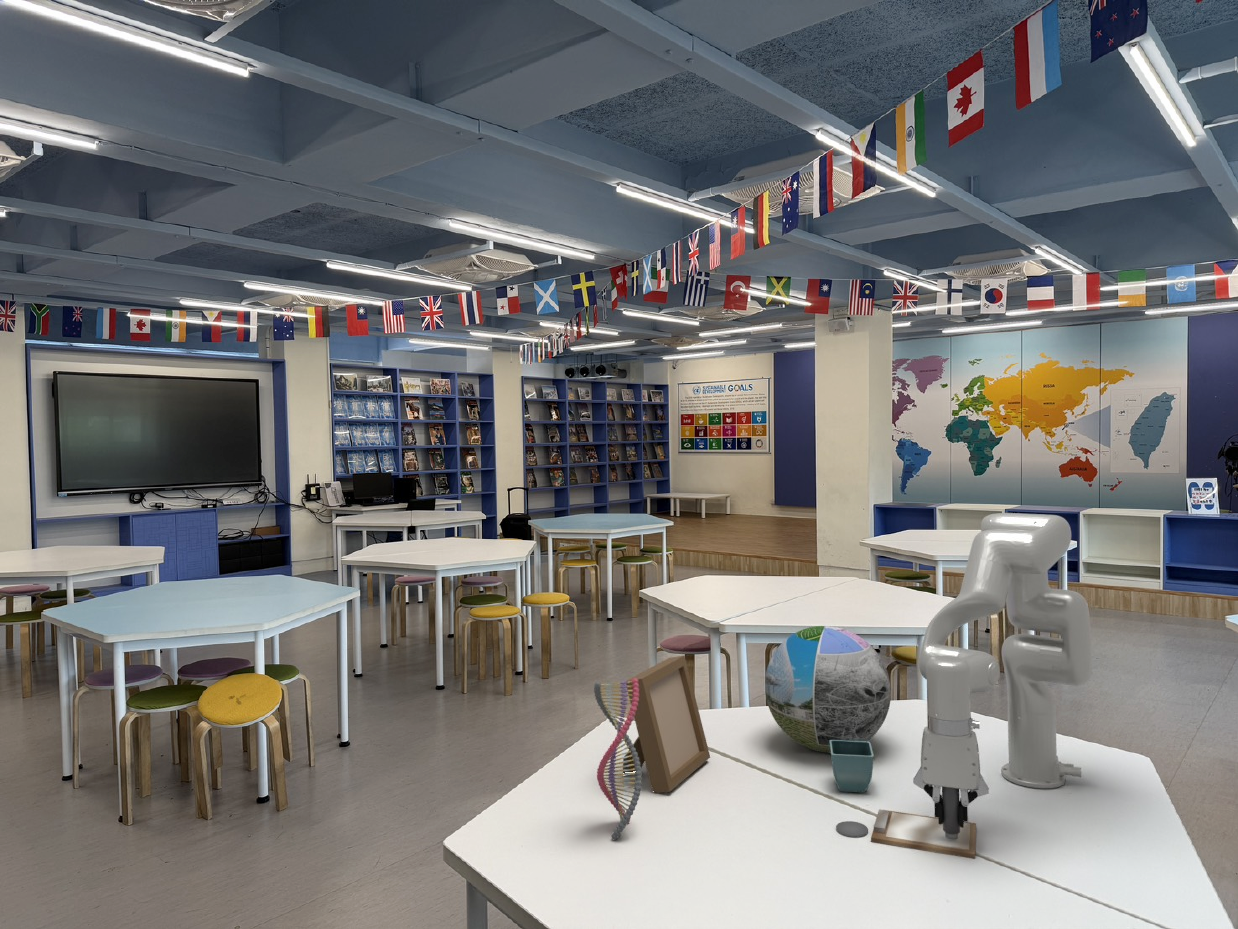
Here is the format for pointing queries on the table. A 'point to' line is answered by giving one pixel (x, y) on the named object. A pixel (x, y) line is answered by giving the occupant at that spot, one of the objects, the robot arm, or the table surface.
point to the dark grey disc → (852, 829)
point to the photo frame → (667, 725)
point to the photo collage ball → (827, 687)
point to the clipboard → (922, 834)
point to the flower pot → (852, 764)
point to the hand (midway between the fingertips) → (951, 822)
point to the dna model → (612, 751)
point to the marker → (950, 812)
